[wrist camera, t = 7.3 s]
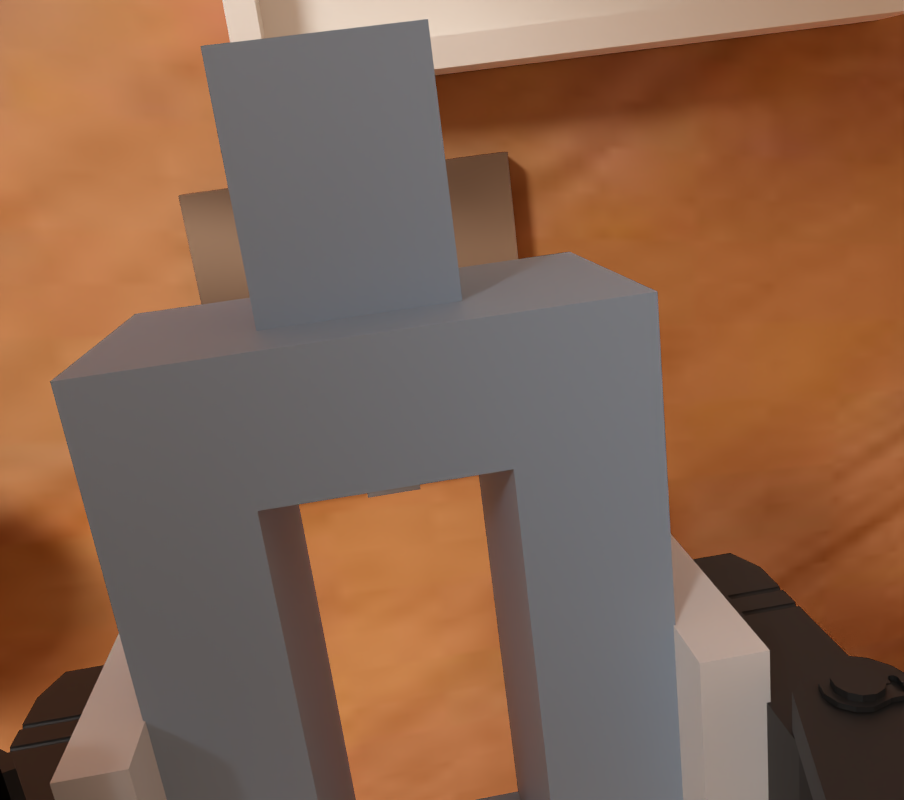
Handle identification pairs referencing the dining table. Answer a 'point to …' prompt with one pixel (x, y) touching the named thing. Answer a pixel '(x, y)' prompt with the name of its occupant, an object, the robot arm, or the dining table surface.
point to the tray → (549, 23)
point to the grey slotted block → (377, 445)
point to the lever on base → (473, 212)
